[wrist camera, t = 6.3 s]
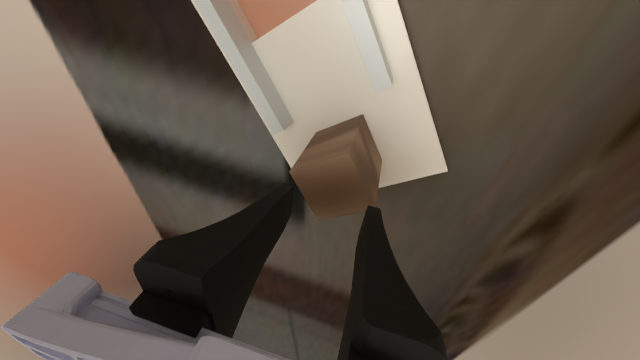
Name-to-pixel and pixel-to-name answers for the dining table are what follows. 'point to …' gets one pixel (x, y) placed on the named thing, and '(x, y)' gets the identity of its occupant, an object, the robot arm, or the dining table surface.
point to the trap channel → (330, 75)
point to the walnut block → (339, 169)
